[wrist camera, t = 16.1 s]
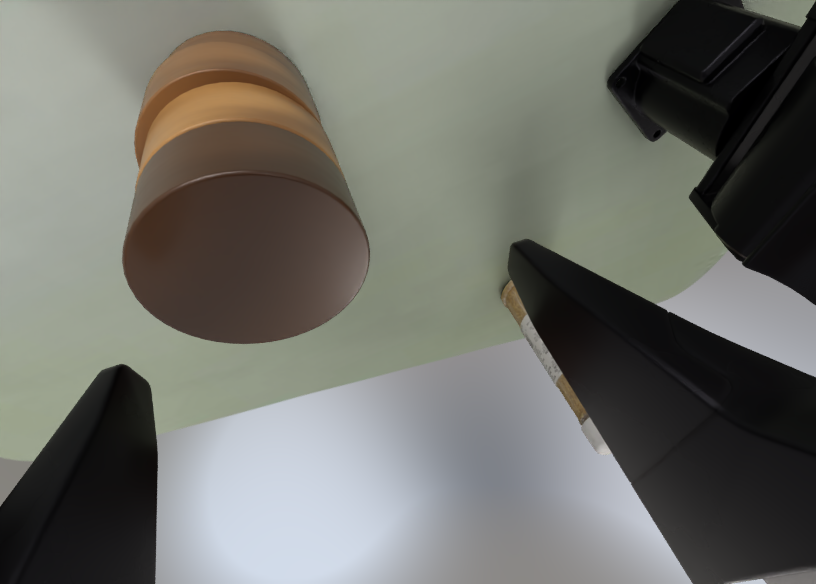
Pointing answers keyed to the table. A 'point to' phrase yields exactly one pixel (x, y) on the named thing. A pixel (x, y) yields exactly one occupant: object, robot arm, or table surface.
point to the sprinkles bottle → (552, 367)
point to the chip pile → (219, 74)
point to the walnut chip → (243, 235)
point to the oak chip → (232, 115)
